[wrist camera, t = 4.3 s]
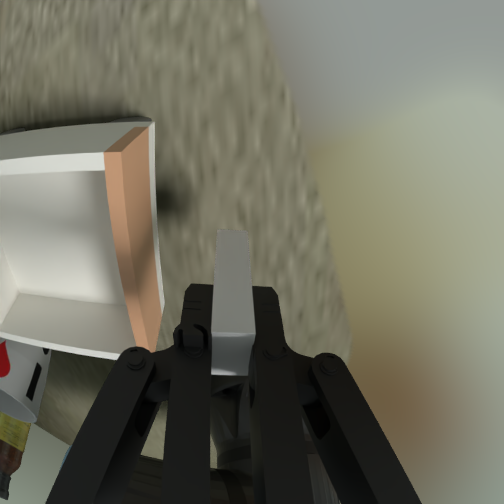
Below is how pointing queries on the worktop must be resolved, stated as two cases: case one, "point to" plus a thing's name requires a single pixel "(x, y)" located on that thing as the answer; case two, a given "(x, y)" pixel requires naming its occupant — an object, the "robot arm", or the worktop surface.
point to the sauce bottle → (11, 449)
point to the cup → (22, 378)
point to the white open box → (80, 238)
